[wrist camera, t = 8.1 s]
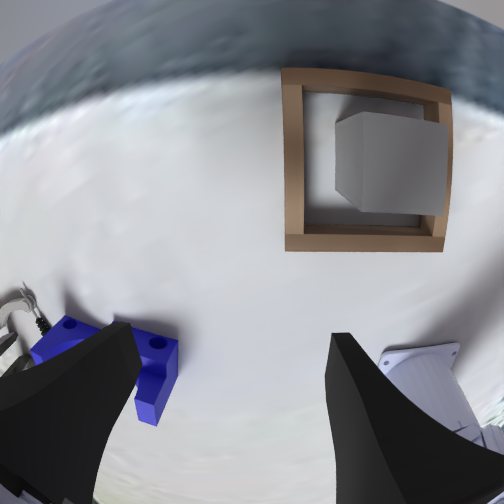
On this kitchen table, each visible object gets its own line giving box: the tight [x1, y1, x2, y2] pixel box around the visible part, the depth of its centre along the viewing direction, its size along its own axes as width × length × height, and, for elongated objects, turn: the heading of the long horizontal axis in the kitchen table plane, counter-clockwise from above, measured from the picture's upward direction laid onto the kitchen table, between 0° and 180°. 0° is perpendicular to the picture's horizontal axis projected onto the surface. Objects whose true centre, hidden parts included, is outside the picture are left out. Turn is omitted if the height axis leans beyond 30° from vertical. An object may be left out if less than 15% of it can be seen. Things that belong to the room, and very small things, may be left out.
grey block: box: [335, 111, 448, 216], centre depth 13 cm, size 4×4×6 cm
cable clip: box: [30, 316, 178, 426], centre depth 20 cm, size 12×4×6 cm, turn 80°
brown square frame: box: [281, 68, 453, 252], centre depth 14 cm, size 10×10×2 cm
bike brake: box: [0, 288, 50, 377], centre depth 23 cm, size 14×7×20 cm
